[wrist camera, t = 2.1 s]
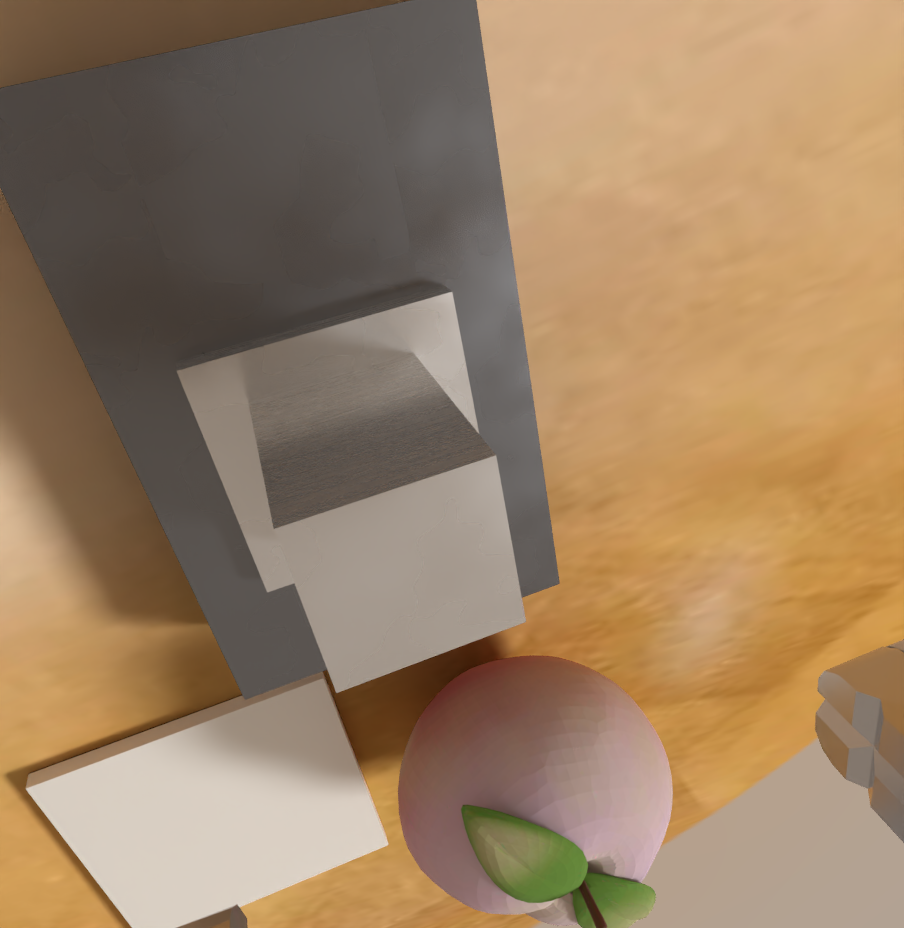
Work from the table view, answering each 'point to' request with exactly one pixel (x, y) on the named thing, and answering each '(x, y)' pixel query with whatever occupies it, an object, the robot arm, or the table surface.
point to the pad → (215, 805)
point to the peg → (364, 481)
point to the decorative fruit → (537, 793)
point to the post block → (273, 255)
